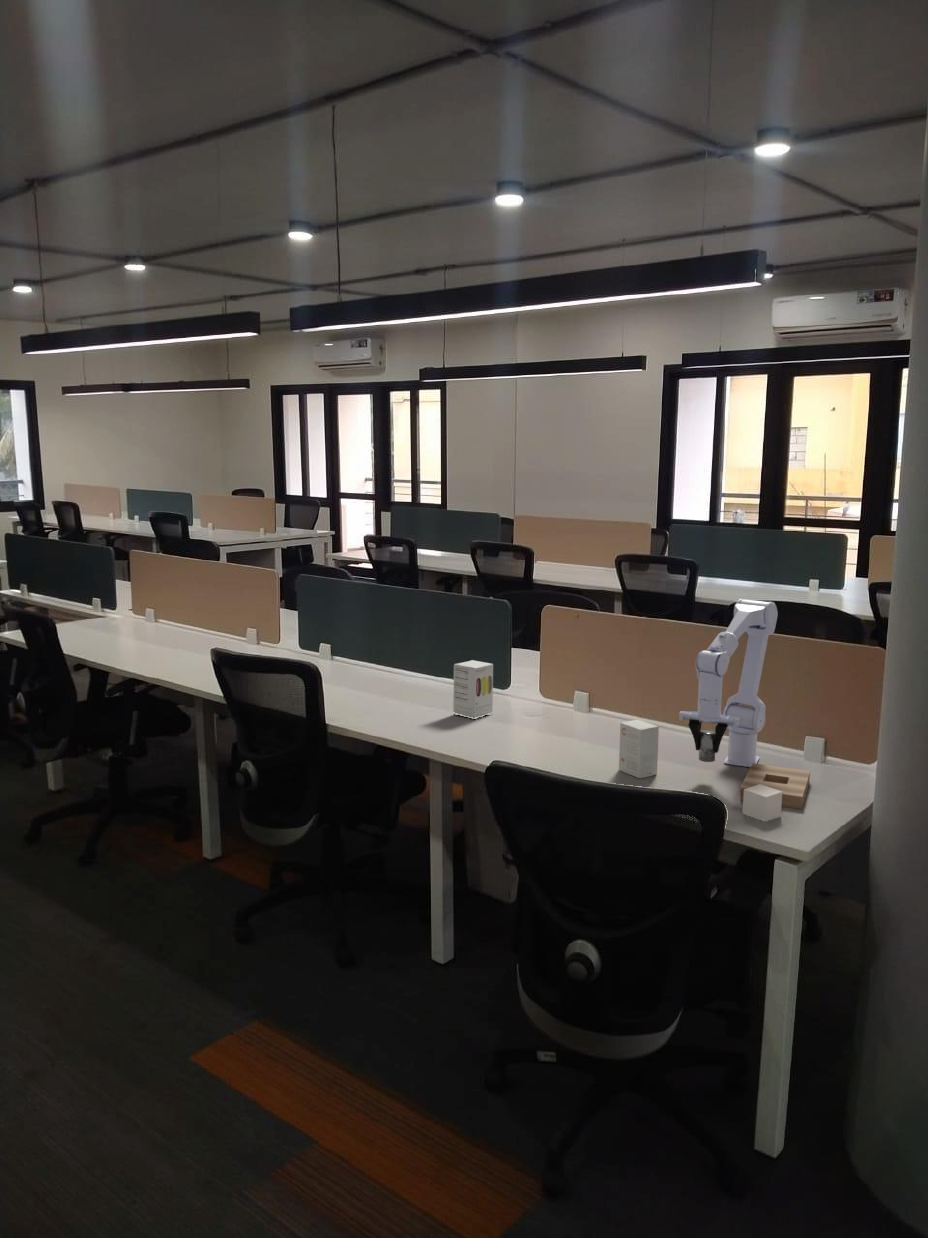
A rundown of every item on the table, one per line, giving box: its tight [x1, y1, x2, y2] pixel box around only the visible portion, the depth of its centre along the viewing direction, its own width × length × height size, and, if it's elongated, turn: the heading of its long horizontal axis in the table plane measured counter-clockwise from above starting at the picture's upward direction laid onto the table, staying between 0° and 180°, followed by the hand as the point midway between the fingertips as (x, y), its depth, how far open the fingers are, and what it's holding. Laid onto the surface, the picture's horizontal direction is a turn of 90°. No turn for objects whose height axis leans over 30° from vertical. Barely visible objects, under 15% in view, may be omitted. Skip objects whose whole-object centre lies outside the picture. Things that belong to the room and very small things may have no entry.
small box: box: [618, 719, 660, 779], centre depth 231 cm, size 8×6×13 cm
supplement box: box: [452, 659, 494, 718], centre depth 284 cm, size 10×9×17 cm
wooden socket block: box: [739, 763, 811, 810], centre depth 219 cm, size 20×14×3 cm
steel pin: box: [698, 730, 716, 763], centre depth 225 cm, size 4×4×7 cm
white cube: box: [742, 784, 782, 822], centre depth 203 cm, size 6×6×6 cm
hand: (707, 750), depth 225 cm, fingers closed on steel pin, 4 cm apart
